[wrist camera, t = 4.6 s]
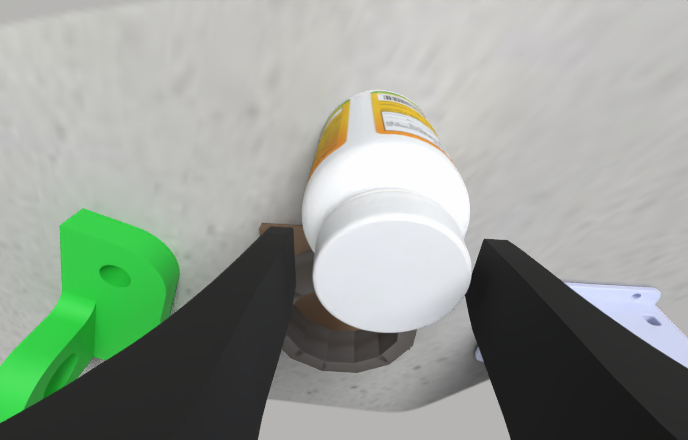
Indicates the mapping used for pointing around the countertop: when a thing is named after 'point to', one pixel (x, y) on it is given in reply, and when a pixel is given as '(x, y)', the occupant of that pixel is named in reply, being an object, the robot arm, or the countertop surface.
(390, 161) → the supplement bottle
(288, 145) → the countertop surface
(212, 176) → the countertop surface
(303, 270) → the collar holder
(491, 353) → the robot arm
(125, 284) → the mechanical part
